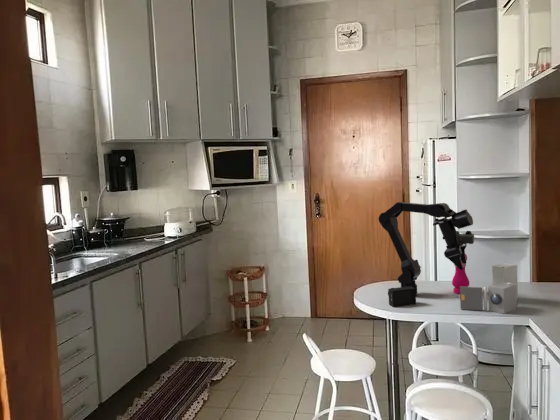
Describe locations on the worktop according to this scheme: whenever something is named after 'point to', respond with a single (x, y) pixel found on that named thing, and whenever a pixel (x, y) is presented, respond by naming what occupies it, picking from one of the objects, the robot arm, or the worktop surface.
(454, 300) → the worktop surface
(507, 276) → the skincare box
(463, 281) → the pepper mill
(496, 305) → the camera housing
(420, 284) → the worktop surface
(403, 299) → the digital camera
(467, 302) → the side door
